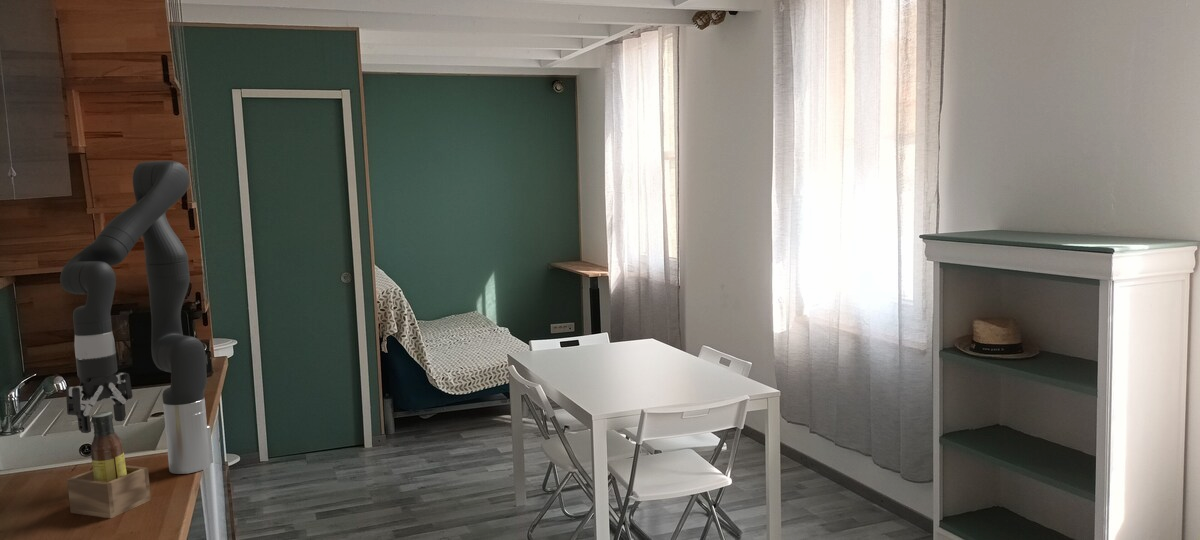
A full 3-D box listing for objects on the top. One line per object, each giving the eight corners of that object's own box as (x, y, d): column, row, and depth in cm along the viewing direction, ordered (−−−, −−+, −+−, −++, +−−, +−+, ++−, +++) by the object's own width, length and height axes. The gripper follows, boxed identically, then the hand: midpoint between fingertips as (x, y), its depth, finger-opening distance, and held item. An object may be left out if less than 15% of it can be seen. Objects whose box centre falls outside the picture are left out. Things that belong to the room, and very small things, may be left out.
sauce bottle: (123, 493, 197) (114, 407, 194) (134, 499, 192) (125, 411, 190) (91, 502, 192) (82, 414, 189) (102, 508, 188) (93, 419, 185)
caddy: (112, 495, 199) (108, 463, 198) (151, 500, 195) (147, 467, 194) (70, 512, 189) (66, 479, 188) (110, 518, 185) (107, 484, 184)
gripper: (110, 346, 195) (117, 416, 197) (52, 360, 182) (60, 435, 184) (136, 347, 193) (143, 418, 195) (79, 361, 180) (87, 437, 182)
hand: (103, 426), depth 190 cm, fingers open, 8 cm apart
